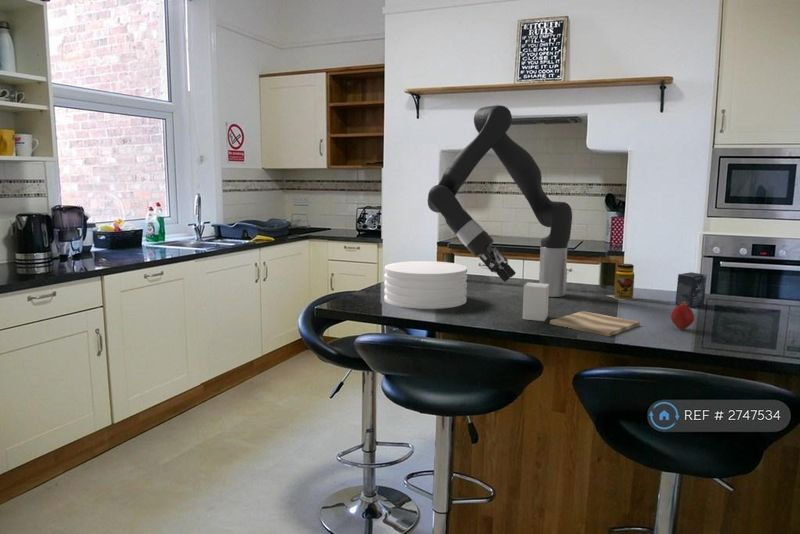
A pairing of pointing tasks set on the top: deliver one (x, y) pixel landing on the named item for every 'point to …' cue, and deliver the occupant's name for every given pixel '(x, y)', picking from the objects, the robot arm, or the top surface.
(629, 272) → the condiment
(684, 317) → the onion
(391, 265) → the plate stack
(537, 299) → the light grey rectangular block
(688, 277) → the box
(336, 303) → the top surface
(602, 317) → the board
